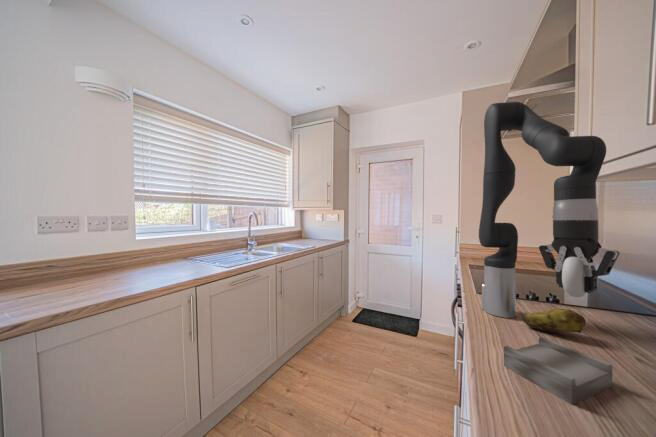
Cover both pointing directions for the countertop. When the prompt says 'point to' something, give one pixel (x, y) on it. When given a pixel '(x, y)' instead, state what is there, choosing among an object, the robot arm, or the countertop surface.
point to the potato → (556, 321)
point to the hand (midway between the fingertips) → (575, 289)
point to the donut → (573, 277)
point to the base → (560, 369)
